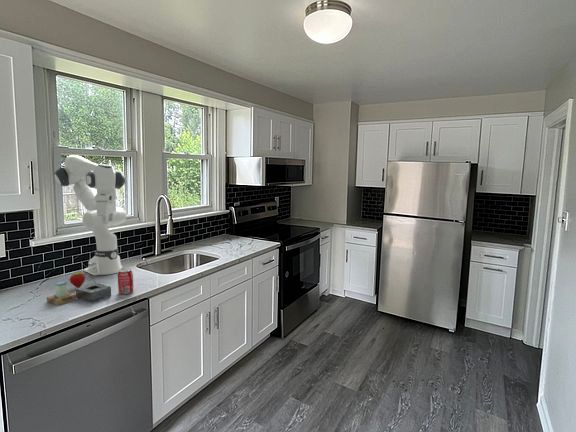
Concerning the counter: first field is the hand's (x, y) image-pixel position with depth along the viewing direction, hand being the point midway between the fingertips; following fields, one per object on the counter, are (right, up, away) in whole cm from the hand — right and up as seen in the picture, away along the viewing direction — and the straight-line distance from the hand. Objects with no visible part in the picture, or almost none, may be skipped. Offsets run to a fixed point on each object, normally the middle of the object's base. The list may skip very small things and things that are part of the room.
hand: (108, 222), depth 172 cm
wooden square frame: (-15, -37, -13) cm, 42 cm away
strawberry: (-18, -35, +4) cm, 40 cm away
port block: (-3, -37, -8) cm, 38 cm away
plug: (-15, -37, -13) cm, 42 cm away
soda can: (+10, -36, -1) cm, 38 cm away
